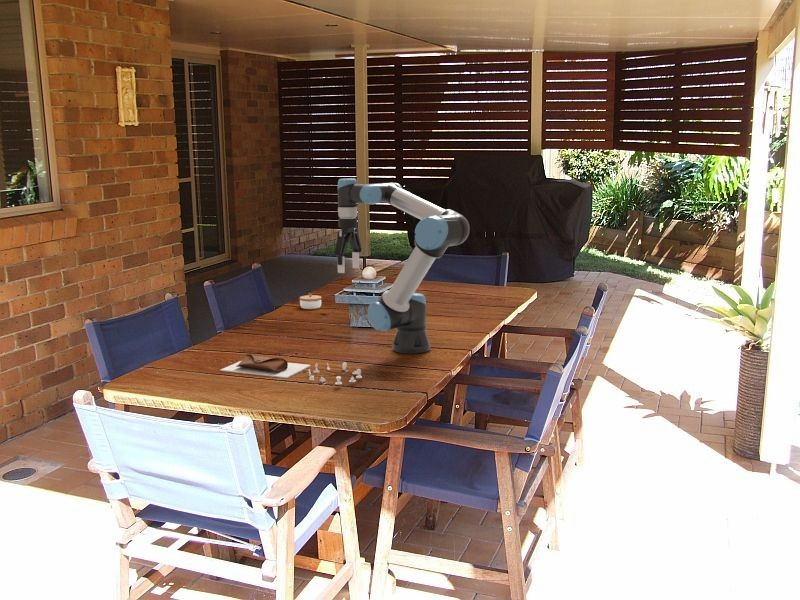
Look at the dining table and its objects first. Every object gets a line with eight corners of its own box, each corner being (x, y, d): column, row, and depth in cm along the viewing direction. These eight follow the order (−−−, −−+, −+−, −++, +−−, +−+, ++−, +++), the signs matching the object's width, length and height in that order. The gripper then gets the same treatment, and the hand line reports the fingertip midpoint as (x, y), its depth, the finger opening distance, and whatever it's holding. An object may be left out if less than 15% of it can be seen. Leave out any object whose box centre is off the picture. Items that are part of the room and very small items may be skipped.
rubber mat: (310, 365, 316) (310, 364, 316) (286, 378, 299) (286, 377, 299) (246, 359, 326) (246, 358, 326) (220, 370, 310) (220, 369, 310)
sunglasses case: (233, 365, 309) (239, 349, 312) (242, 373, 315) (247, 357, 318) (276, 371, 302) (281, 354, 305) (284, 378, 308) (289, 361, 311)
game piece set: (332, 367, 316) (332, 357, 315) (372, 375, 303) (372, 365, 303) (294, 378, 301) (294, 367, 300) (335, 388, 288) (335, 377, 288)
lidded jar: (326, 311, 417) (325, 293, 415) (312, 315, 408) (312, 296, 406) (309, 309, 423) (308, 291, 421) (295, 313, 414) (295, 294, 412)
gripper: (352, 214, 347) (353, 265, 351) (324, 220, 325) (326, 274, 329) (369, 215, 345) (369, 266, 348) (342, 220, 322) (343, 275, 326)
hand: (348, 270), depth 338 cm, fingers open, 13 cm apart
